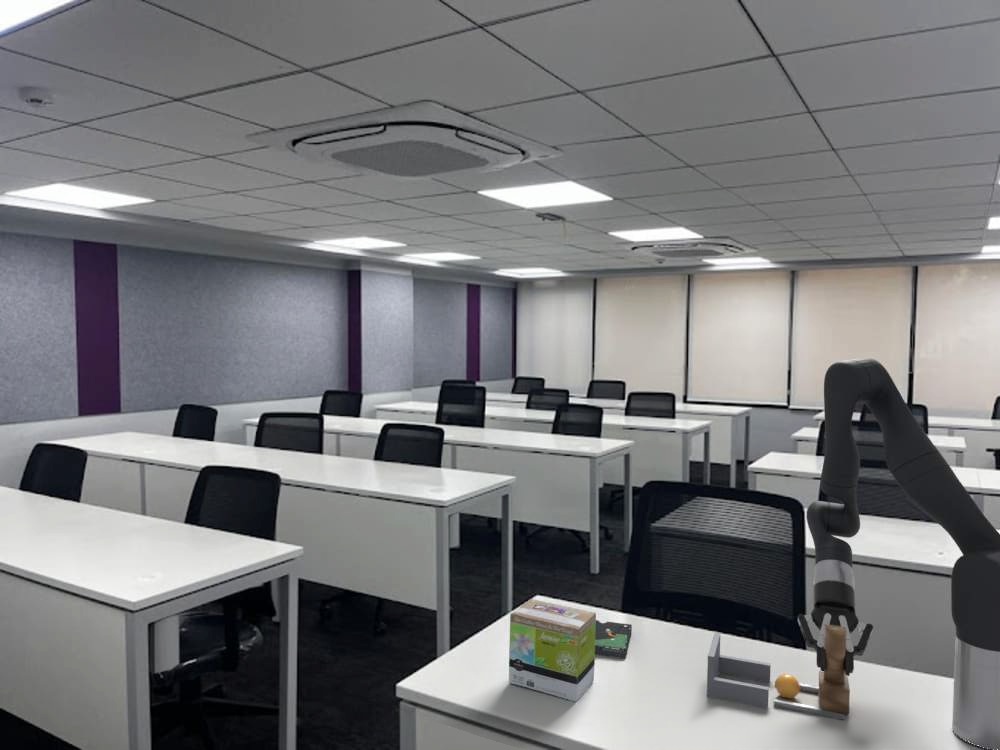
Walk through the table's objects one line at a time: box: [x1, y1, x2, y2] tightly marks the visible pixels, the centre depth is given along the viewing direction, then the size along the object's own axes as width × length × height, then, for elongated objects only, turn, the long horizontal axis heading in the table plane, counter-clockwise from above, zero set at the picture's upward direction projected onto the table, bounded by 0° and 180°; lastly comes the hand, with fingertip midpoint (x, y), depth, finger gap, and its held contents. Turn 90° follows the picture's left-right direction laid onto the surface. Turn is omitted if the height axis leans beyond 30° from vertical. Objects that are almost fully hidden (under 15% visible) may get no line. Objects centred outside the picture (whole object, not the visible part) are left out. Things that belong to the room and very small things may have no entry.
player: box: [817, 625, 851, 715], centre depth 134 cm, size 5×6×15 cm
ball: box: [774, 673, 801, 699], centre depth 137 cm, size 4×4×4 cm
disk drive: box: [595, 619, 633, 660], centre depth 162 cm, size 10×3×15 cm
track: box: [773, 678, 845, 720], centre depth 136 cm, size 12×10×1 cm
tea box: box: [508, 598, 597, 703], centre depth 141 cm, size 15×10×15 cm, turn 62°
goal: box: [706, 632, 772, 709], centre depth 141 cm, size 11×12×8 cm
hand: (835, 671), depth 132 cm, fingers closed on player, 3 cm apart
